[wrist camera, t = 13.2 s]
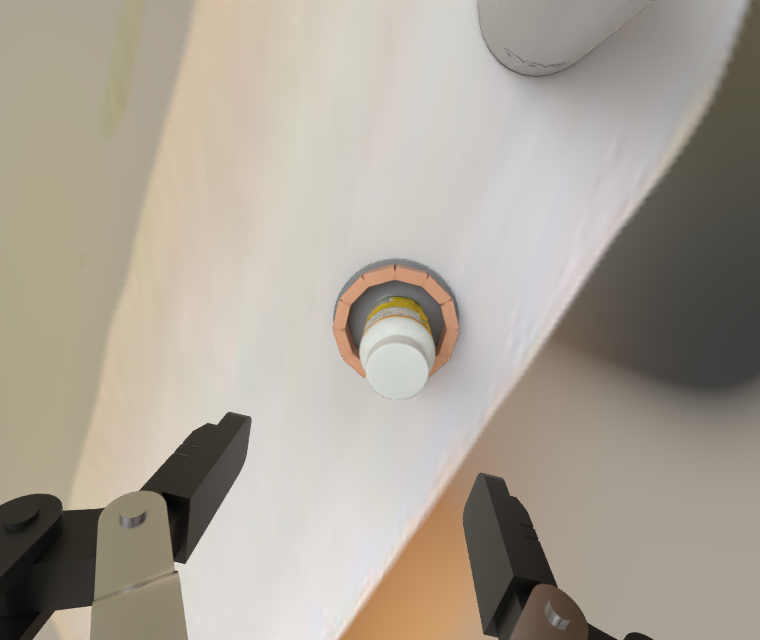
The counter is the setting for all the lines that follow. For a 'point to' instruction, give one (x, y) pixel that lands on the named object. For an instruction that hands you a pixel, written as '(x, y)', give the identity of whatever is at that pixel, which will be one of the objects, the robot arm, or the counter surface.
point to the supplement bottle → (397, 347)
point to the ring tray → (395, 281)
